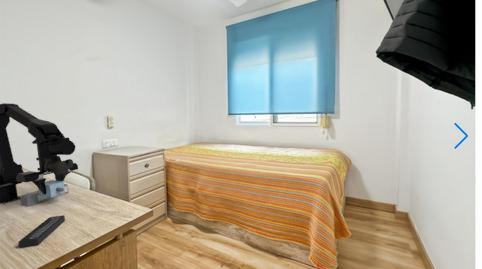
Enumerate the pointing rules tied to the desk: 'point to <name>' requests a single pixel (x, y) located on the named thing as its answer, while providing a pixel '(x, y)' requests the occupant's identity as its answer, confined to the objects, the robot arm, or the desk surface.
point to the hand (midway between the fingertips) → (52, 191)
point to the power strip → (36, 197)
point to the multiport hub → (41, 232)
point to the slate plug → (53, 188)
